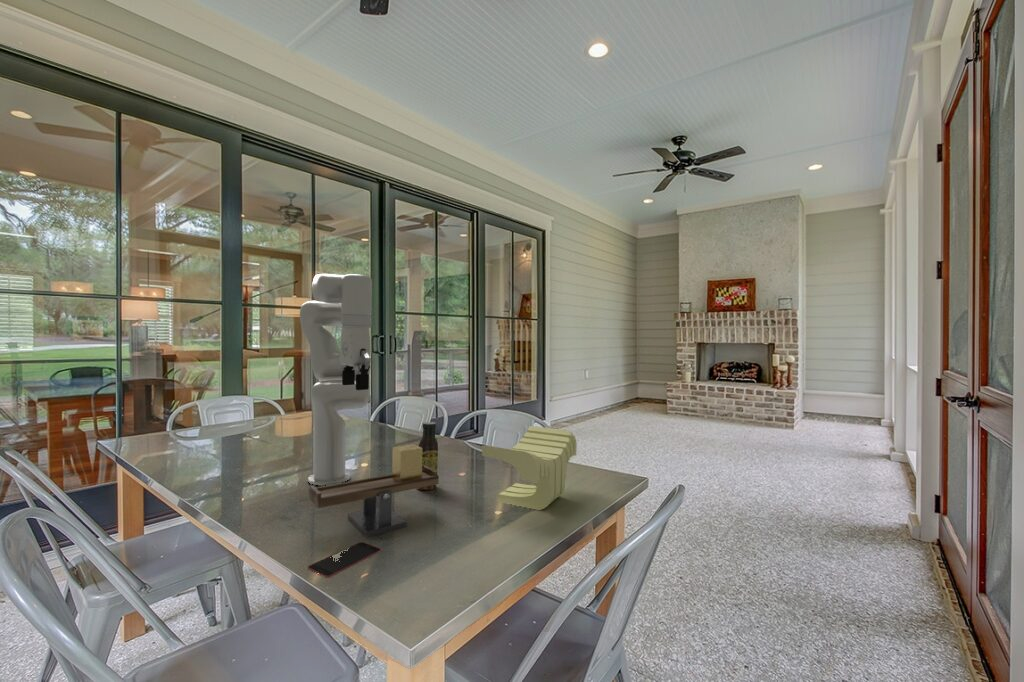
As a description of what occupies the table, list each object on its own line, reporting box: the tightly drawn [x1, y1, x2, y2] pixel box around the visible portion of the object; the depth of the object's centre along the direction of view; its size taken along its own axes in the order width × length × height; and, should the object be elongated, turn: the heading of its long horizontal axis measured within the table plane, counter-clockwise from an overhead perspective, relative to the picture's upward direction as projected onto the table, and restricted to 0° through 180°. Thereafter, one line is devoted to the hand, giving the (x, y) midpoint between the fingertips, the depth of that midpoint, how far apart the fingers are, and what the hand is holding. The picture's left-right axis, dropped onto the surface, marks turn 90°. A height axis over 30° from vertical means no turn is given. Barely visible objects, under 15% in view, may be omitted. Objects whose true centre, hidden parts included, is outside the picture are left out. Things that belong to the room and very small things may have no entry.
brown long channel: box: [308, 466, 440, 509], centre depth 115 cm, size 8×30×4 cm, turn 127°
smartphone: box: [307, 541, 382, 578], centre depth 96 cm, size 7×1×14 cm
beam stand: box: [347, 490, 408, 538], centre depth 115 cm, size 13×10×9 cm
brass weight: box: [391, 443, 422, 482], centre depth 120 cm, size 5×6×8 cm
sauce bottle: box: [417, 421, 439, 491], centre depth 141 cm, size 6×6×20 cm
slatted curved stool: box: [481, 425, 578, 511], centre depth 132 cm, size 30×16×18 cm, turn 153°
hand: (355, 387), depth 121 cm, fingers open, 9 cm apart
